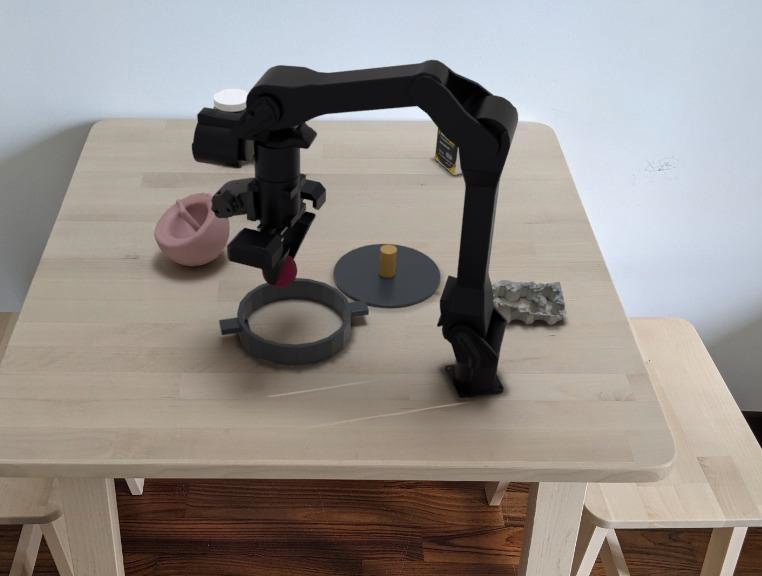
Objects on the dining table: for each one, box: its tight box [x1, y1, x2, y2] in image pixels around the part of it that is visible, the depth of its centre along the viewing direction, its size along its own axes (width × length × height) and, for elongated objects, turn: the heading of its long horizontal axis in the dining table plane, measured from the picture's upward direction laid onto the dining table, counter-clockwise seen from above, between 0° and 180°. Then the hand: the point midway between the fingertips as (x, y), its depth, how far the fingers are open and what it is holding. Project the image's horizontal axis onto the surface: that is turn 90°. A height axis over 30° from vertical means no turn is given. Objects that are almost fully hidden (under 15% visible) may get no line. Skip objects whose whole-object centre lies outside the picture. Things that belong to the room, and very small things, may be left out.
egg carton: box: [492, 279, 567, 325], centre depth 136 cm, size 11×8×4 cm
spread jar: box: [212, 88, 254, 158], centre depth 171 cm, size 12×11×12 cm
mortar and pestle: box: [153, 192, 231, 267], centre depth 145 cm, size 12×12×12 cm
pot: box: [218, 277, 370, 367], centre depth 133 cm, size 16×22×4 cm
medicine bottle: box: [434, 127, 462, 176], centre depth 168 cm, size 7×7×12 cm
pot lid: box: [333, 243, 441, 309], centre depth 142 cm, size 17×17×6 cm
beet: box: [261, 255, 298, 288], centre depth 124 cm, size 5×5×5 cm
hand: (279, 274), depth 124 cm, fingers closed on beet, 5 cm apart
